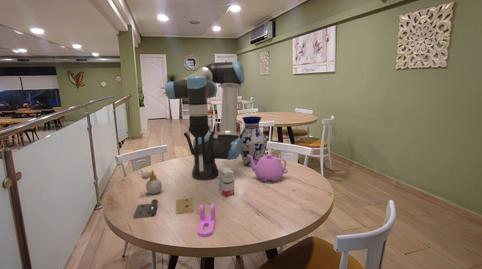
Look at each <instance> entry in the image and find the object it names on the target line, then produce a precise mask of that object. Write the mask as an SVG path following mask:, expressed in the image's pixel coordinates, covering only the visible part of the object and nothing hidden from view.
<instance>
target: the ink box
mask: <svg viewBox="0 0 482 269" xmlns="http://www.w3.org/2000/svg"><path fill="white" fill-rule="evenodd" d="M217 168H218V167H217ZM217 178H218V191H219V193H221V194H222V195H223V196H224V197H225V198H226V197H231V196H235V172H234V170H232V169H230V168H229V167H228V166H225V167H219V168H218V177H217Z"/></svg>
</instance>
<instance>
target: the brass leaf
mask: <svg viewBox="0 0 482 269" xmlns="http://www.w3.org/2000/svg"><path fill="white" fill-rule="evenodd" d="M193 203H194V202H193V197H188V198H187V197H186V198H181V199H179V198H178V199H175V214H176V215H181V214H182V215H183V214H190V213H194V204H193Z"/></svg>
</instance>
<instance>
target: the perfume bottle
mask: <svg viewBox="0 0 482 269" xmlns="http://www.w3.org/2000/svg"><path fill="white" fill-rule="evenodd" d="M141 178H142V179H143V180H148V179H149V180H148V181H147V182H146V184H145V190H146V192H148V194H153V195H155V194H158V193H159V192H160V191H161V190H162V188H163V184H162V181H161V180H160V179H159V178H157V175H156V174H155V172H154V170H153V169H151V172H150V171H144V172H142V173H141Z"/></svg>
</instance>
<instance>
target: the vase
mask: <svg viewBox="0 0 482 269" xmlns="http://www.w3.org/2000/svg"><path fill="white" fill-rule="evenodd" d="M241 119H242V121H243V123H244V129H243V131H242V132H241V133H240V134H238V135H239V138H240V139H241V141H242V147H241V152H240V157H241V159H242V162H243V165H244V166H245V167H249V166H251V162H250V158H249V157H248V156H247V155H250V156H252V157H253V161H254V164H255V165H256V164H257V162H258V161H259V159H260V158H261V157H263V156H265V153H266V149H267V146H268V138H267V136H266V135H265V134H264V133H263V131H262V130H261V129H260V122H261V120H262V117H261V116H243V117H242V118H241Z"/></svg>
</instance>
